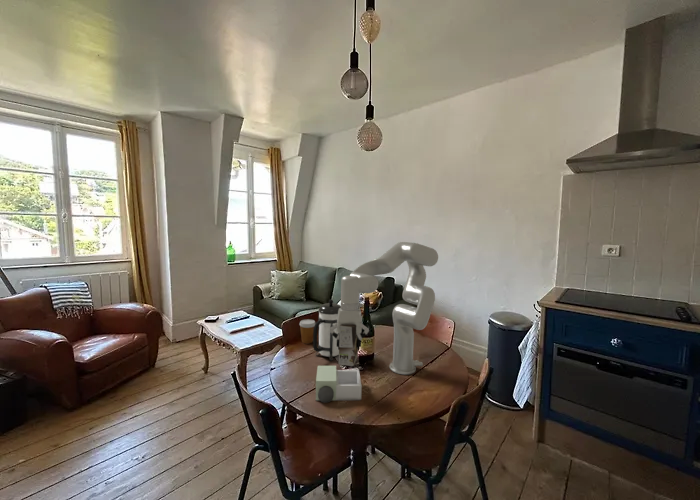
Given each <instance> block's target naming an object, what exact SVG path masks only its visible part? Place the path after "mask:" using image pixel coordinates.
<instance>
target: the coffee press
mask: <svg viewBox="0 0 700 500" xmlns="http://www.w3.org/2000/svg"><path fill="white" fill-rule="evenodd" d="M339 308H341V304H338V303H334V301H333V299H329V300H328V303H323V304H321V305H320V306H319V308H318V320H317V321H315V323H316V324H315V326H314V330H313V342H312V345H313V346H312V348H313V350H314V352H315V356H316V357H319V356H320V355H321V356H323V357H328V358H329V362H333V358H334V357H336V356H339V350H338V347H337V340H336V338H335V337H334V336H333V335H332V334H331V332H330V331H329V329H330V328H331V327H332V326H334V325H335V324H336V323H337V316H338V310H339ZM334 332H335V333H336V334H338V333H337V328H336V329H335V330H334Z"/></svg>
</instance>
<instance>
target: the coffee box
mask: <svg viewBox="0 0 700 500" xmlns="http://www.w3.org/2000/svg"><path fill="white" fill-rule="evenodd" d="M357 338H358V336H357V334H356V325H340V338H339V355H338V365H341V366H342V365H343V366H349V367H354V366H355V363H356V361H357V358H358V351H359V350H358V348H357Z"/></svg>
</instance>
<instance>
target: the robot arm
mask: <svg viewBox="0 0 700 500" xmlns="http://www.w3.org/2000/svg"><path fill="white" fill-rule="evenodd" d="M438 261H439V254H438V252H437V250H436V249H434V248H433V247H429V246H426V245H423V244H420V243H418V242H417V243H416V242H406V241H399V242H397V243H396V244H394V245H393V246H392V247H391V248H389V249H388V250H387V251H385V253H383V254H382V255H381V256H379V257H378V258H377V257H376V258H375V259H371V260H369V261H367V262H363V263H362V264H360V265H359V266H358V267H356V268H355V269H354V270H353V271H352V272H350V274H349V275H344V276H342V277H341V281H340V306H341V308H339V310H338V316H337V323H336V324H335V325H334V326H332V327H331V328H330V329H329V331H330V332H331V334H332V335H333V336H334V337H335V338H336V340H337V347H338V350H339V338H340V325H356V334H357V336H358V338H357V348H358V351H359V350H361V349H360V348H361V347H362V340H363V339H364V337H366V336H367V335H368V333H369V332H370V329H369V328H368V327H367V326H366V325H364V324H363V320H362V317H363V316H362V309H361V308H363V306H364V305H363V303H360V295H361V294H371V293H374V292H376V290H378V287H379V281H378V279H377V277H376V276H381V275H388V274H391V273H392V272H394V271H395V270H396V269H398V267H400V266H401V265H402V264H403V263H404V262H406V263H407V265H408V275H407V278H406V282H405V285H404V287H403V291H402V299H403V301H404V302H407V303H410V304H413V305H416V306H417V307H415V306H412V305H409V304H406V303H405V304H404V303H399V304H397V305H395V306H394V307H393V309H392V314H391V315H392V322H393V349H392V350H393V351H392V361H391V362H390V363H389V369H390V370H391V372H393V373H395V374H398V375H405V376H407V375H412V374H414V373H415V372H416V370H417V368H416V367H423V365H424V363H423V362H422V361H419V359H418V360H414V342H415V341H414V340H415V332H414V330H417V331H422V330H424V329H425V328H426V327H427V326H428V323H429V319H430V317H431V313H432V311H433V307H434V305H435V301H436V293H435V291H434V289H433V288H431V287H430V286H426V285H425V283H426V280H427V272H426V269H425V267H433V266H435V265H436V264H437V263H438ZM336 328H337V333H338V334H336V333H335V332H334V330H335V329H336ZM362 330H363V332H362Z"/></svg>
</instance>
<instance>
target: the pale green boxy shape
mask: <svg viewBox="0 0 700 500" xmlns="http://www.w3.org/2000/svg"><path fill="white" fill-rule="evenodd" d="M361 400H362V379H361V375H360V370H359V369H344V370H343V369H337V365H317V369H316V377H315V401H320V402H321V403H325V404H328V403H330V402H331V401H361Z"/></svg>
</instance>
